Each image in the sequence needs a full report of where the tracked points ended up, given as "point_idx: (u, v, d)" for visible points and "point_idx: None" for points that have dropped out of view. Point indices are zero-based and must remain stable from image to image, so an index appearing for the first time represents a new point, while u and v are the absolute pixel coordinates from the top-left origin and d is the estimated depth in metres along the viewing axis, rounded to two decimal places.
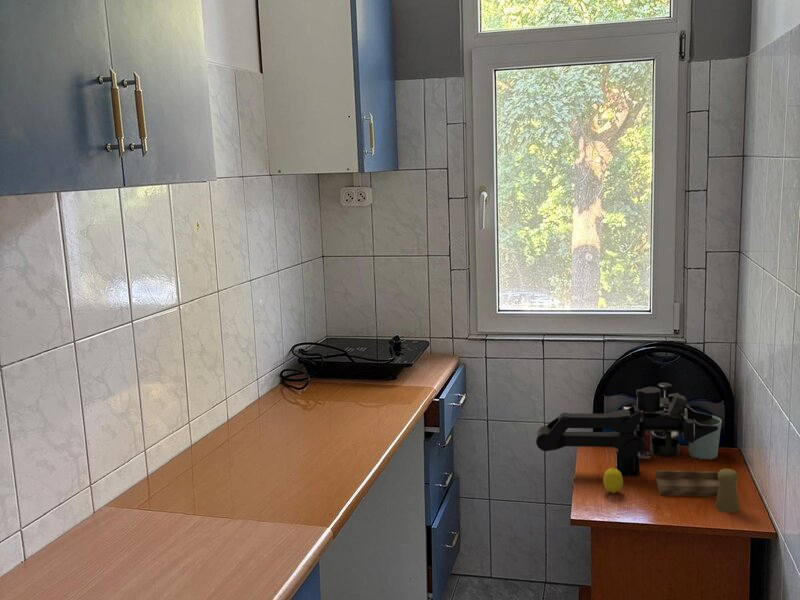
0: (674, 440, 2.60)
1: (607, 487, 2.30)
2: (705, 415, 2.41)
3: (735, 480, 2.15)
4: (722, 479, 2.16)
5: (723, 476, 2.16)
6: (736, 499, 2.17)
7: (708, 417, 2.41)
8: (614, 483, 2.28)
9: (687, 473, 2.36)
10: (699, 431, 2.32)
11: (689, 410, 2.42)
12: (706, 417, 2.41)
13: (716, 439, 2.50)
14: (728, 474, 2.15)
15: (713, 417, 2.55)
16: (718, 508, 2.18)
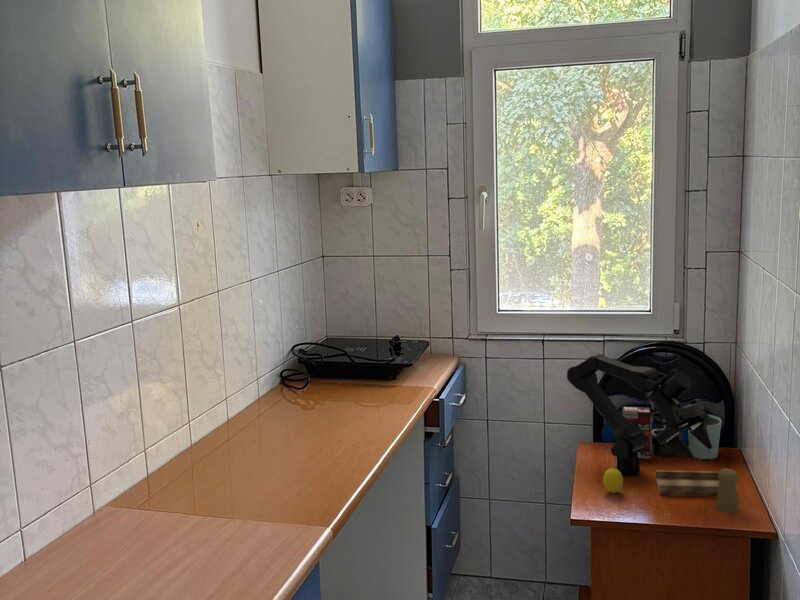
0: None
1: (607, 487, 2.30)
2: (707, 441, 2.26)
3: (735, 480, 2.15)
4: (722, 479, 2.16)
5: (723, 476, 2.16)
6: (736, 499, 2.17)
7: (707, 445, 2.26)
8: (614, 483, 2.28)
9: (687, 473, 2.36)
10: (676, 443, 2.22)
11: (701, 425, 2.27)
12: (706, 444, 2.26)
13: (716, 439, 2.50)
14: (728, 474, 2.15)
15: (713, 417, 2.55)
16: (718, 508, 2.18)
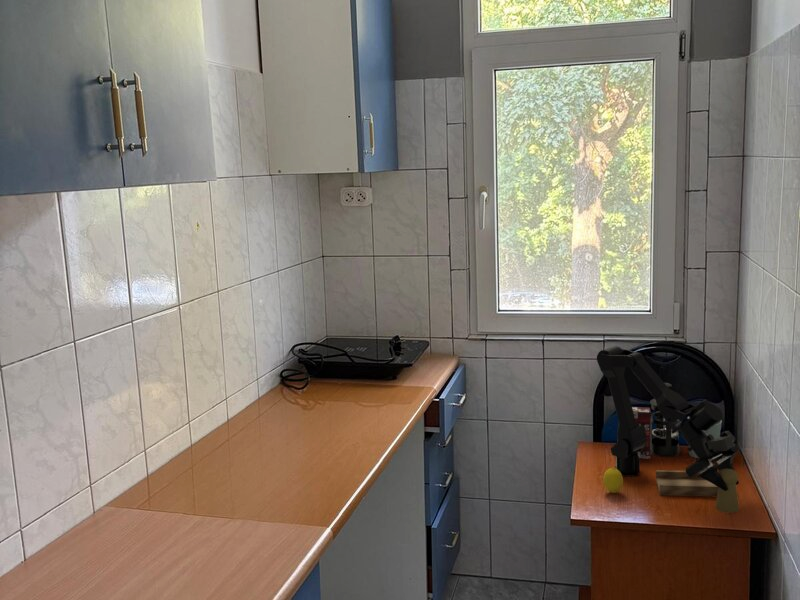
0: (674, 440, 2.60)
1: (607, 487, 2.30)
2: None
3: (735, 480, 2.15)
4: None
5: (723, 476, 2.16)
6: (736, 499, 2.17)
7: None
8: (614, 483, 2.28)
9: None
10: (710, 475, 2.17)
11: (728, 460, 2.20)
12: None
13: None
14: (728, 474, 2.15)
15: None
16: (718, 508, 2.18)
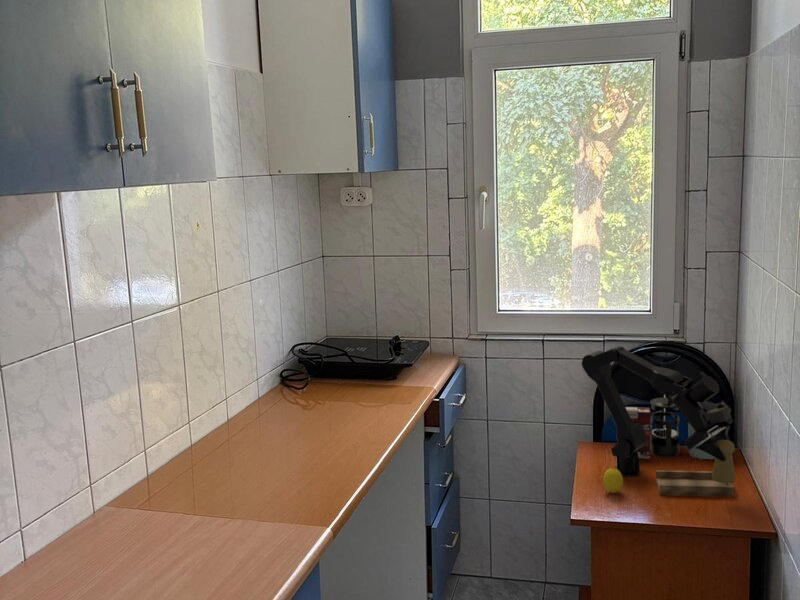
0: (674, 440, 2.60)
1: (607, 487, 2.30)
2: None
3: (732, 450, 2.18)
4: None
5: (720, 447, 2.18)
6: (733, 469, 2.20)
7: None
8: (614, 483, 2.28)
9: (687, 473, 2.36)
10: (708, 447, 2.19)
11: (723, 431, 2.23)
12: None
13: None
14: (726, 444, 2.18)
15: None
16: (715, 479, 2.21)
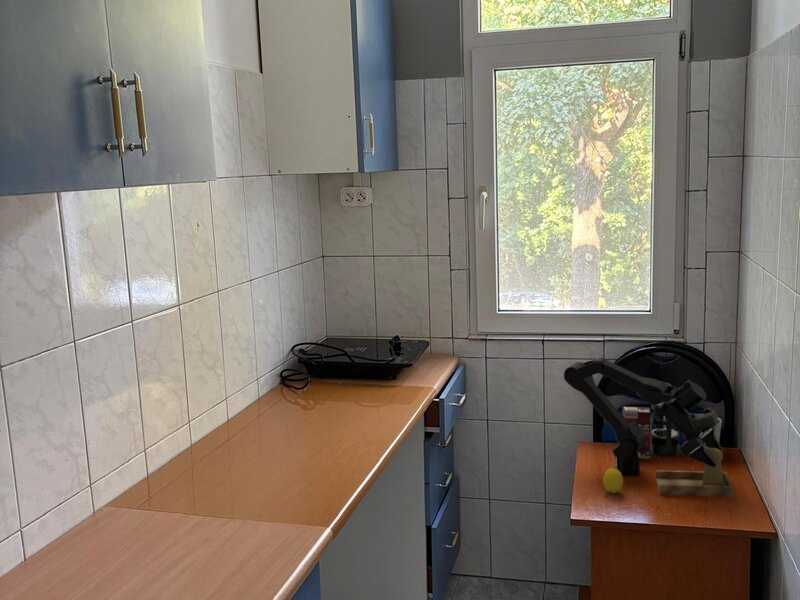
0: (674, 440, 2.60)
1: (607, 487, 2.30)
2: (719, 448, 2.32)
3: (722, 457, 2.27)
4: None
5: (711, 455, 2.27)
6: (722, 475, 2.29)
7: None
8: (614, 483, 2.28)
9: (687, 473, 2.36)
10: (698, 454, 2.25)
11: (711, 433, 2.33)
12: None
13: None
14: (715, 452, 2.27)
15: None
16: None
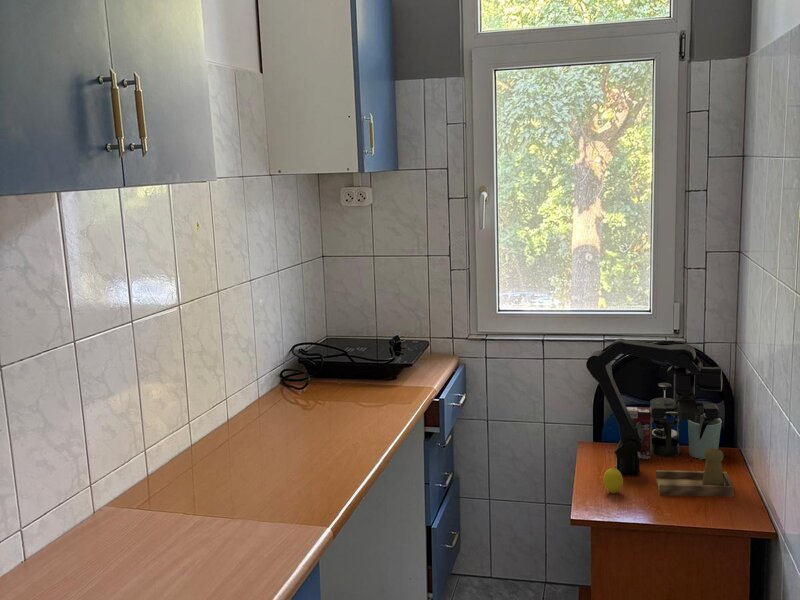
0: (674, 440, 2.60)
1: (607, 487, 2.30)
2: (700, 432, 2.34)
3: (722, 458, 2.27)
4: (711, 458, 2.27)
5: (711, 456, 2.27)
6: (722, 476, 2.29)
7: (699, 434, 2.34)
8: (614, 483, 2.28)
9: (687, 473, 2.36)
10: None
11: (703, 419, 2.31)
12: (699, 433, 2.34)
13: (716, 439, 2.50)
14: (716, 452, 2.27)
15: None
16: None
